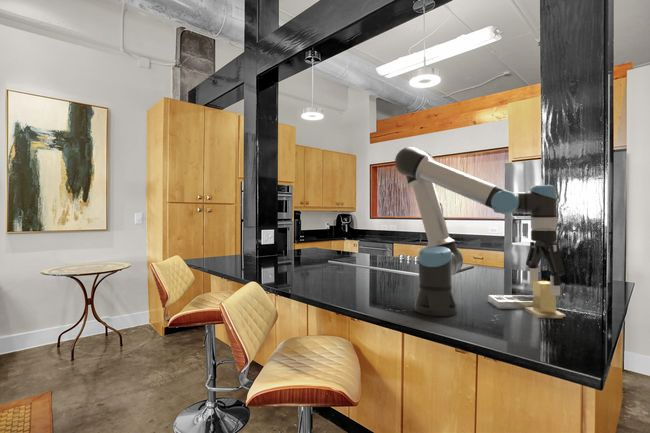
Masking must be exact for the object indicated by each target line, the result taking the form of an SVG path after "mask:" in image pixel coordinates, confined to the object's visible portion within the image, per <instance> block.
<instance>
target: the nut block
mask: <svg viewBox="0 0 650 433" xmlns="http://www.w3.org/2000/svg"><path fill="white" fill-rule="evenodd" d="M532 295H533V309H534V310H536V311H538V312H540V313H556V310H557V295H550V280H549V281H548V280H538V281H533V286H532Z"/></svg>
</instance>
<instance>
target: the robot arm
mask: <svg viewBox="0 0 650 433" xmlns="http://www.w3.org/2000/svg"><path fill="white" fill-rule="evenodd" d="M394 165H395V168H396V170H397V172H398V173H399V174H401V175H403V176H405V178H406V181H407V184H408V186H409V187H411V188H412V190H413V193H414V196H415V199H416V203H417V207H418V210H419V215H420V216H421V221H422V225H423V228H424V231H425V234H426V239H427V241H428V242H427V245H426V247H422V248H421V249H420V250H419V252H418V259H417V260H418V292H417V295H416V298H415V302H414V311H416V312H417V313H419V314H422V315H425V316H433V317H448V316H449V317H450V316H454V315H456V314H457V313H458V305H457V303H456V299H455V297H454V294H453V289H452V286H453V284H452V283H453V282H452V281H453V280H452V278H453V277H452V276H454V275H455V276H456V274H458V273H459V272H460V271H461V269H462V267H463V264H464V257H463V254H462V253H461V251H460V250H459V249H458V248H457V244H456V241H455V239H453V238H452V237H450V234H449V230H448V226H447V223H446V221H445V217H444V213H443V210H442V207H441V203H440V200H439V195H438V193H437V190H436V187H435V185H437V186H438V187H442V188H444V189H446V190H449V191H451V192H453V193H454V194H457V195H460V196H462V197H465V198H467V199H469V200H472V201H474V202H476V203H479V204H480V205H483V206H485V207H487V208H489V209H492V211H493V212H494V213H496V214H501V215H508V214H528V213H530V229H531V231H530V240H531V241H530V242H529V249H528V254H527V258H526V261H525V266H528V268H529V286H530V287H533V281H539V266H538V265H539V264H540V261H541V260H542V258H543V259H545V261H546V263H547V266H548V268H549V270H550V275H549V278H550V280H549V282H550V295H556V296H561V277H562V276H563V275H566V270H565V267H564V264H563V259H562V257H561V253H560V246H559V245H557V244H555V245H553V242H556V241H557V238H558V237H557V236H558V232H557V230H556V229H557V222H558V220H557V202H558V201H557V200H558V199H557V188H556V187H555V185H553V184H544V185H543V184H542V185H532V186H531V187H530V190H529V191H514V192H513V191H511V190H508V189H506V188H502V187H500V186H497V185H495V184H493V183H490V182H488V181H485V180H482V179H480V178H478V177H475V176H472V175H470V174H468V173H465V172H462V171H460V170H457V169H455V168H453V167H450V166H447V165H445V164H442V163H440V162H437V161H435V159H434V158H433V156H432V155H431V154H430V153H429V152H427V151H425V150H422V149H419V148H417V147H414V146H408V147H404V148H402V149H401V150H399V152H398V153H397V154H396V156H395V158H394Z"/></svg>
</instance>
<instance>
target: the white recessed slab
mask: <svg viewBox="0 0 650 433" xmlns="http://www.w3.org/2000/svg"><path fill="white" fill-rule="evenodd" d="M487 302H489V304H491V305H492V306H494V307H496V308H497V309H498V310H499V309H501V310H505V309H509V310H510V309H511V310H514V309H515V310H524V307H533V294H532V295H530V294H529V295H528V294H527V295H523V294H522V295H521V294H518V295H516V294H510V295H509V294H495V295H494V294H488V295H487Z"/></svg>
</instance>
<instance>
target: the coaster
mask: <svg viewBox="0 0 650 433" xmlns="http://www.w3.org/2000/svg"><path fill="white" fill-rule="evenodd" d="M523 310H524V311H525V312H527V313H528V314H530V315H532V316H534V317H535V318H537V319H538V318H539V319H564V318H563V317H566V318H567V316H566V314H565V313H563V312H561V311H559V310H557V309H556V313H540V312H538V311H536V310H534V309H533V307H524V309H523Z"/></svg>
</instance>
